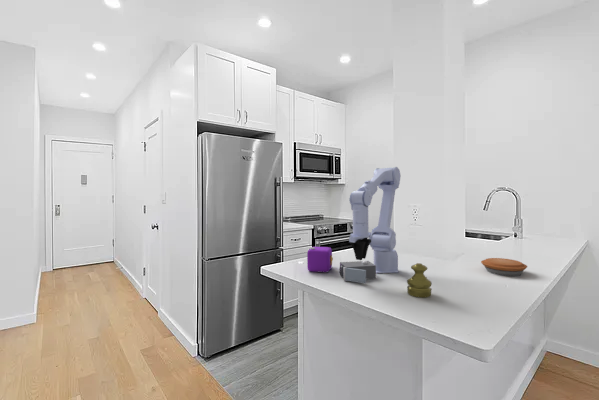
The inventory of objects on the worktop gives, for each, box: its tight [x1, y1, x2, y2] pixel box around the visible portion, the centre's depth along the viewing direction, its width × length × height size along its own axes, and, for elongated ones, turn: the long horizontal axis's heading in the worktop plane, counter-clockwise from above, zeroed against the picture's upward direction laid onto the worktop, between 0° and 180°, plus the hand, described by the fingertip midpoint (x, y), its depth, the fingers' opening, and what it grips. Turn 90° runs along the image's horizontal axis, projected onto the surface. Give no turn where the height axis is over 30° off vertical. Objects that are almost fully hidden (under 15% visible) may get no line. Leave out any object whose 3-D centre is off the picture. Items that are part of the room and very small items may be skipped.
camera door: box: [343, 267, 367, 284], centre depth 111 cm, size 9×1×5 cm, turn 58°
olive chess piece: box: [406, 262, 433, 299], centre depth 97 cm, size 7×7×10 cm
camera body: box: [338, 260, 377, 280], centre depth 118 cm, size 13×8×6 cm, turn 98°
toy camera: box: [306, 246, 334, 273], centre depth 130 cm, size 11×14×10 cm
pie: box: [480, 257, 528, 277], centre depth 122 cm, size 15×16×5 cm
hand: (360, 258), depth 112 cm, fingers open, 2 cm apart
